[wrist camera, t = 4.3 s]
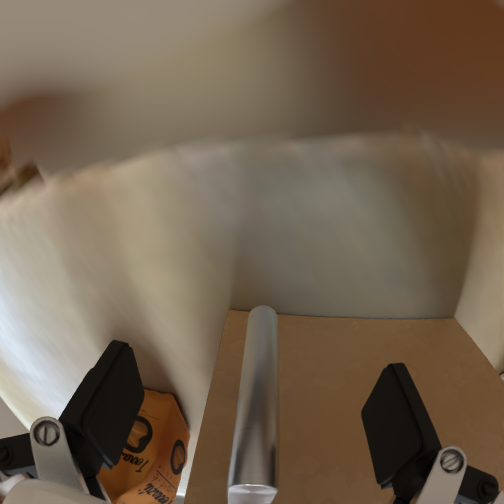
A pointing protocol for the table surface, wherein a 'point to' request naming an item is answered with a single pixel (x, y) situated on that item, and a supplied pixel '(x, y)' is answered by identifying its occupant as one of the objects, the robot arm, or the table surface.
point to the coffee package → (150, 455)
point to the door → (332, 405)
